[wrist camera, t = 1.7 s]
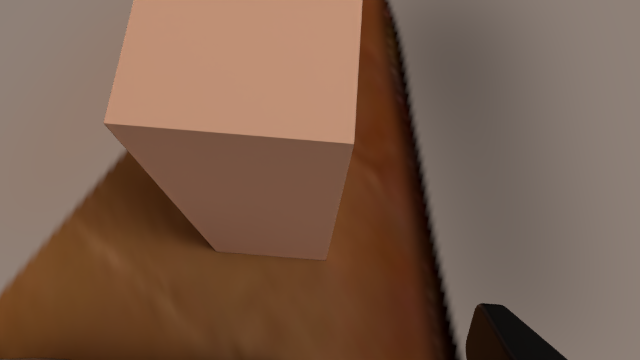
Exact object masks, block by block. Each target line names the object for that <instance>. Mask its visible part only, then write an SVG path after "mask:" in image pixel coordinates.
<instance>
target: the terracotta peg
mask: <svg viewBox="0 0 640 360" xmlns="http://www.w3.org/2000/svg"><path fill="white" fill-rule="evenodd" d="M361 15H362V0H134V2H133V6H132V10H131V14H130V18H129V22H128V26H127V30H126V34H125V38H124V42H123V46H122V50H121V54H120V59H119V63H118V67H117V71H116V75H115V79H114V83H113V87H112V91H111V96H110V99H109V103H108V107H107V111H106V115H105V119H104V124H105V125H106V126H107V128H108V129H109V130H110V131H111V132H112V133H113V134H114V136H115V137H116V138H117V139H118V140H119V141H120V142H121V144H122V145H123V146H124V147H125V148H126V149H127V150H128V152H129V153H130V154H131V155H132V156H133V157H134V158H135V159H136V161H137V162H138V163H139V164H140V165H141V166H142V167H143V169H144V170H145V171H146V172H147V173H148V174H149V175H150V177H151V178H152V179H153V180H154V181H155V182H156V183H157V185H158V186H159V187H160V188H161V189H162V190H163V191H164V192H165V194H166V195H167V196H168V197H169V198H170V199H171V200H172V202H173V203H174V204H175V205H176V206H177V207H178V208H179V210H180V211H181V212H182V213H183V214H184V215H185V216H186V218H187V219H188V220H189V221H190V222H191V223H192V224H193V225H194V227H195V228H196V229H197V230H198V231H199V232H200V233H201V235H202V236H203V237H204V238H205V239H206V240H207V241H208V243H209V244H210V245H211V246H212V247H213V248H214V249H215V251H216V252H228V253H241V254H253V255H265V256H277V257H289V258H301V259H314V260H326V257H327V253H328V249H329V245H330V241H331V237H332V232H333V228H334V224H335V220H336V216H337V212H338V208H339V204H340V200H341V195H342V191H343V187H344V183H345V179H346V175H347V171H348V167H349V162H350V158H351V154H352V150H353V146H354V135H355V118H356V101H357V84H358V66H359V49H360V32H361Z"/></svg>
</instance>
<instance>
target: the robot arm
mask: <svg viewBox="0 0 640 360" xmlns="http://www.w3.org/2000/svg"><path fill="white" fill-rule="evenodd" d="M466 358H467V360H567V359H566V358H565V357H564V356H563V355H561V354H560V353H559V352H558V351H557V350H556V349H555V348H553V347H552V346H551V345H550V344H549V343H547V342H546V341H545V340H544V339H542V338H541V337H540V336H539V335H538V334H537V333H536V332H534V331H533V330H532V329H531V328H530V327H529V326H527V325H526V324H525V323H524V322H523V321H521V320H520V319H519V318H518V317H517V316H516V315H514V314H513V313H512V312H511V311H510V310H509V309H507V308H506V307H505V306H503V305H497V304H485V303H481V304H479V305H477V307H476V308H475V311H474V315H473V318H472V322H471V325H470V329H469V333H468V336H467V340H466Z"/></svg>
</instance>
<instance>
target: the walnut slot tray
mask: <svg viewBox="0 0 640 360" xmlns="http://www.w3.org/2000/svg"><path fill="white" fill-rule="evenodd" d="M0 360H67V359H55V358H17V359H0Z"/></svg>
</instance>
